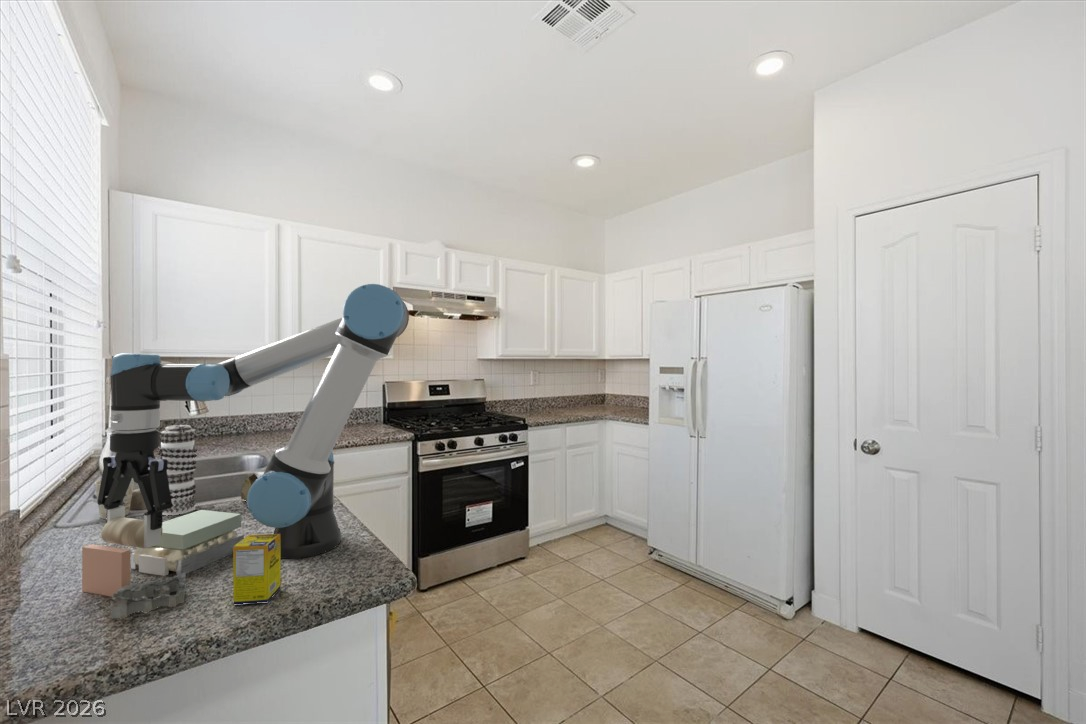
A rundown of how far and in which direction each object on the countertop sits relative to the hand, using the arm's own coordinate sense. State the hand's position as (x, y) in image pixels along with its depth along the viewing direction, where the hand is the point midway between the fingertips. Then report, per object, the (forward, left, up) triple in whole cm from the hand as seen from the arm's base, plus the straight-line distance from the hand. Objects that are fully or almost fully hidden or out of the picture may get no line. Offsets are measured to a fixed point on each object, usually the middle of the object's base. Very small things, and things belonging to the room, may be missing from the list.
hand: (133, 542), depth 94 cm
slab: (0, -12, -3) cm, 12 cm away
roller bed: (0, -11, -8) cm, 13 cm away
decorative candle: (+35, -36, -8) cm, 51 cm away
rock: (+20, -49, -8) cm, 54 cm away
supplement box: (-29, -1, -8) cm, 30 cm away
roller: (0, 0, 0) cm, 0 cm away
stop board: (0, +5, -8) cm, 9 cm away
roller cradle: (0, 0, -8) cm, 8 cm away
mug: (+50, -29, -8) cm, 58 cm away
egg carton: (-12, +6, -8) cm, 16 cm away
